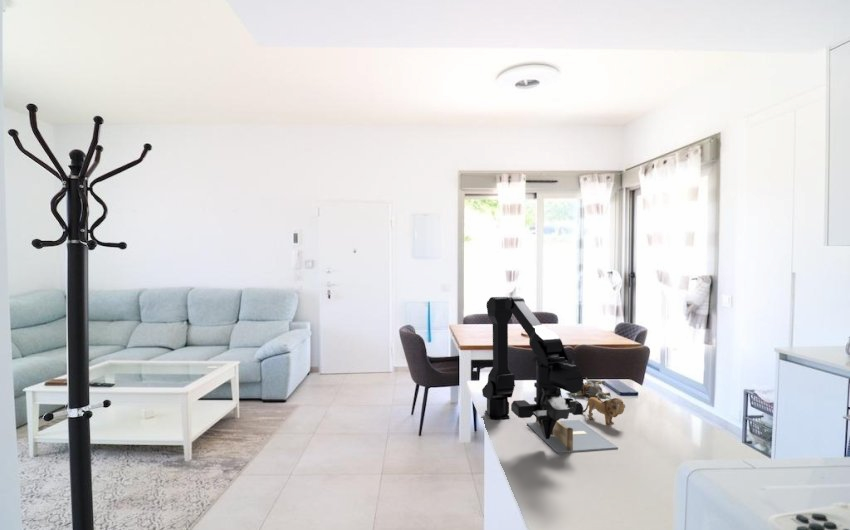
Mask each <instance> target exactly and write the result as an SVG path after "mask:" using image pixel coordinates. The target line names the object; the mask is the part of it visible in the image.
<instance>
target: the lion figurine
mask: <svg viewBox="0 0 850 530" xmlns="http://www.w3.org/2000/svg"><path fill="white" fill-rule="evenodd" d="M625 409H626V405H625V403H624V401H623V400H622V399H621V398H620V397H613V398H610V399H605V400H604V401H601V400H600V399H599V398H598V399H597V398H595V397H591V398H590V397H588V401H587V404H586V407H585V409H583V414H584V413H586V412H587V410H588V418H589V420H594V417H593V412H592V411H594V410H596V411H597V412H598V413H600V414H602V415H604V418H605V419H604V420H605V426H606V427H611V425H614V424H615V422H614V421H613V418H616V417H618V416H619V415H622V414H623V413H624V411H625Z"/></svg>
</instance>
